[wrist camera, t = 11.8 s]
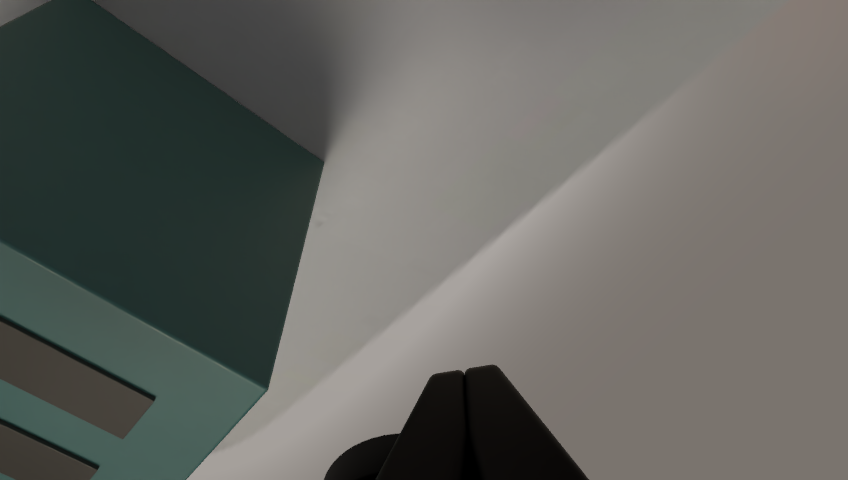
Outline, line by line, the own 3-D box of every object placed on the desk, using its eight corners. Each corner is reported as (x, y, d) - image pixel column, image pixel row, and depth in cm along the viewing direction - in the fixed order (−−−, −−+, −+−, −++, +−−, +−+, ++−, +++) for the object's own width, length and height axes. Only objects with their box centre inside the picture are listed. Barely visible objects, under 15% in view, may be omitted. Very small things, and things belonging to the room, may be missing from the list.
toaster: (325, 162, 22) (268, 394, 13) (159, 368, 26) (30, 654, 17) (74, -13, 19) (-206, 130, 11) (-69, 245, 23) (-362, 508, 14)
